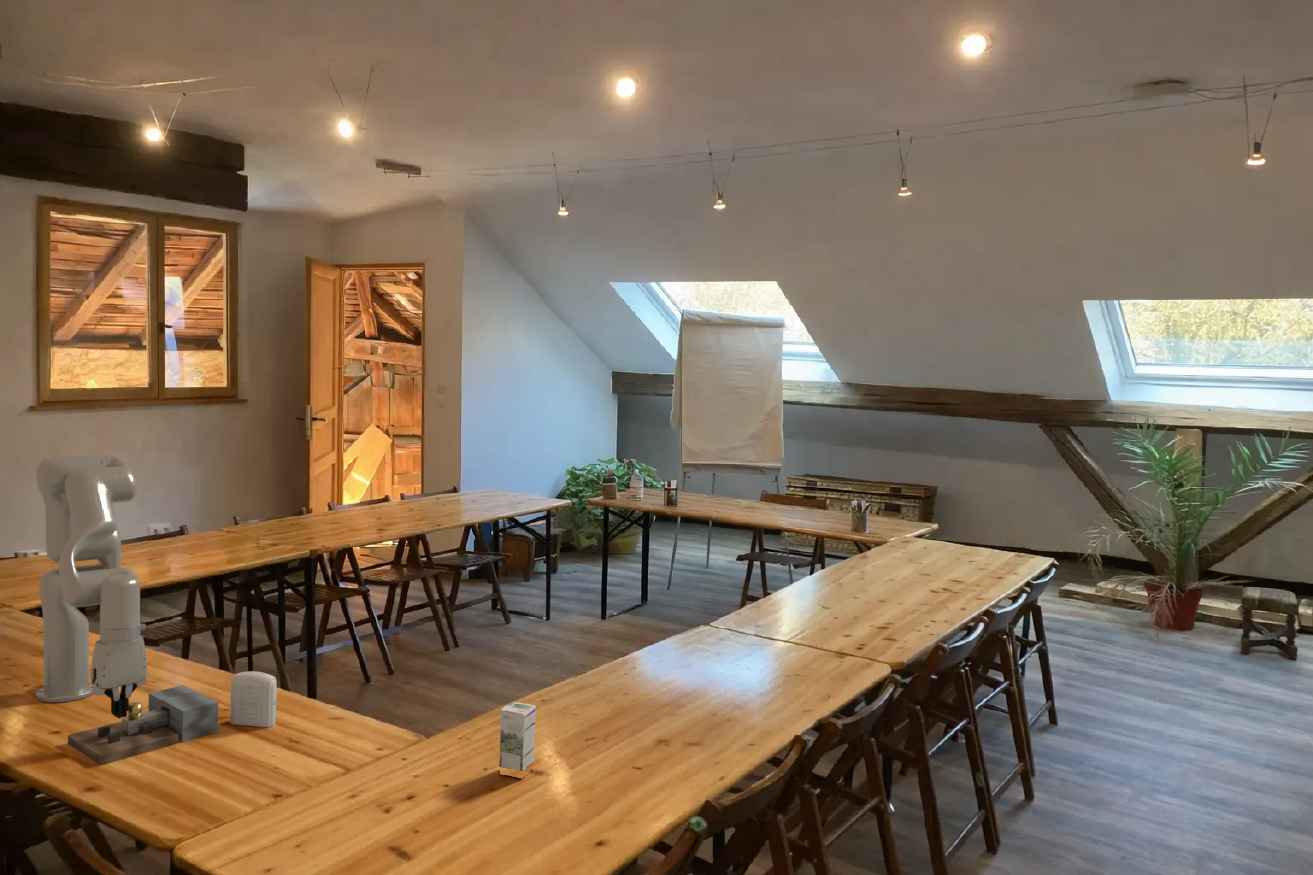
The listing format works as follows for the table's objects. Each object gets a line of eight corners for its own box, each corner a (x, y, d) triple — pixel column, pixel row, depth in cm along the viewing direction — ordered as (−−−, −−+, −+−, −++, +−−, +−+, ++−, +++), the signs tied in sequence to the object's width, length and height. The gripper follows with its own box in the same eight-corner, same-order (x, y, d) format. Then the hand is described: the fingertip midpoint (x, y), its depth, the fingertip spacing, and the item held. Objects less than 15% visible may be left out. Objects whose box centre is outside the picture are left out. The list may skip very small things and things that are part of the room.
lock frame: (100, 765, 199) (100, 732, 199) (67, 743, 209) (67, 712, 208) (217, 731, 219) (218, 701, 219) (183, 713, 229) (183, 684, 228)
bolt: (128, 735, 210) (128, 708, 209) (122, 731, 211) (122, 704, 211) (183, 720, 219) (183, 694, 219) (176, 717, 221) (177, 691, 221)
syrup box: (534, 769, 207) (537, 704, 206) (522, 780, 201) (524, 713, 200) (510, 765, 209) (513, 699, 208) (497, 775, 203) (500, 708, 202)
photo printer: (278, 721, 227) (279, 670, 226) (270, 728, 222) (271, 676, 221) (236, 718, 227) (237, 667, 226) (227, 725, 223) (227, 673, 222)
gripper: (147, 623, 216) (147, 702, 218) (75, 636, 204) (75, 720, 206) (163, 630, 212) (163, 711, 213) (90, 643, 200) (90, 729, 201)
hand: (119, 715), depth 209 cm, fingers closed
